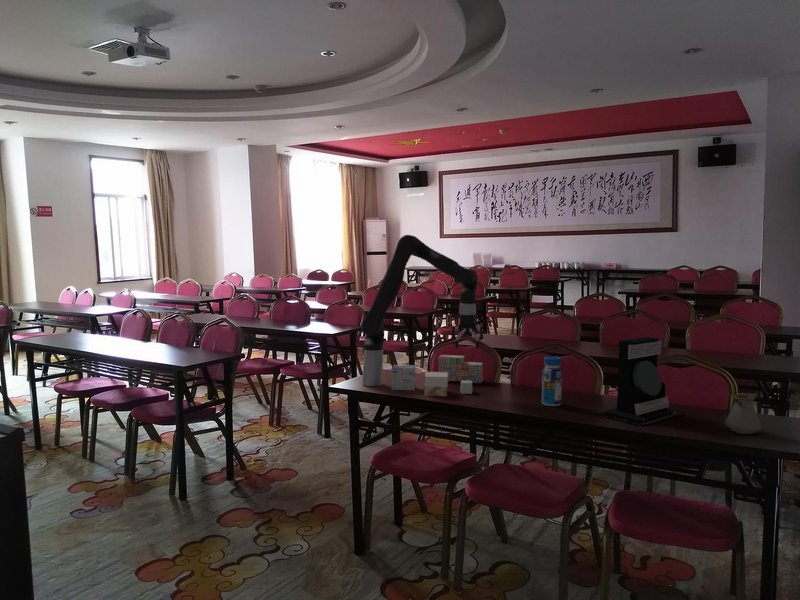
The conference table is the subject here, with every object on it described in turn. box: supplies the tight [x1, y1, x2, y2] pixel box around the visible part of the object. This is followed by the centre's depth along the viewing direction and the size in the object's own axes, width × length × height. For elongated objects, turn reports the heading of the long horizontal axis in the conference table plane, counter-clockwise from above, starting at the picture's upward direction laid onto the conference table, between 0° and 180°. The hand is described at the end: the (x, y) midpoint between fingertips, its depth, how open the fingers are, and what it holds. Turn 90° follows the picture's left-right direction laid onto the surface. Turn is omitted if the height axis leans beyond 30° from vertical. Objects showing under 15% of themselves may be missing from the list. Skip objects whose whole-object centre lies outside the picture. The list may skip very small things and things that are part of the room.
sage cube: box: [460, 380, 473, 395], centre depth 275 cm, size 5×5×5 cm
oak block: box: [423, 385, 448, 397], centre depth 273 cm, size 10×10×4 cm
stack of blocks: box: [437, 354, 484, 384], centre depth 298 cm, size 21×6×12 cm, turn 73°
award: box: [601, 336, 680, 424], centre depth 238 cm, size 30×19×30 cm, turn 126°
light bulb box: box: [391, 364, 416, 391], centre depth 281 cm, size 11×7×11 cm, turn 84°
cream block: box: [424, 371, 449, 388], centre depth 272 cm, size 10×10×4 cm
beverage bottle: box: [541, 355, 563, 407], centre depth 254 cm, size 8×8×20 cm
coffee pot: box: [724, 394, 762, 433], centre depth 213 cm, size 21×12×15 cm, turn 140°
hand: (466, 348), depth 273 cm, fingers open, 8 cm apart
